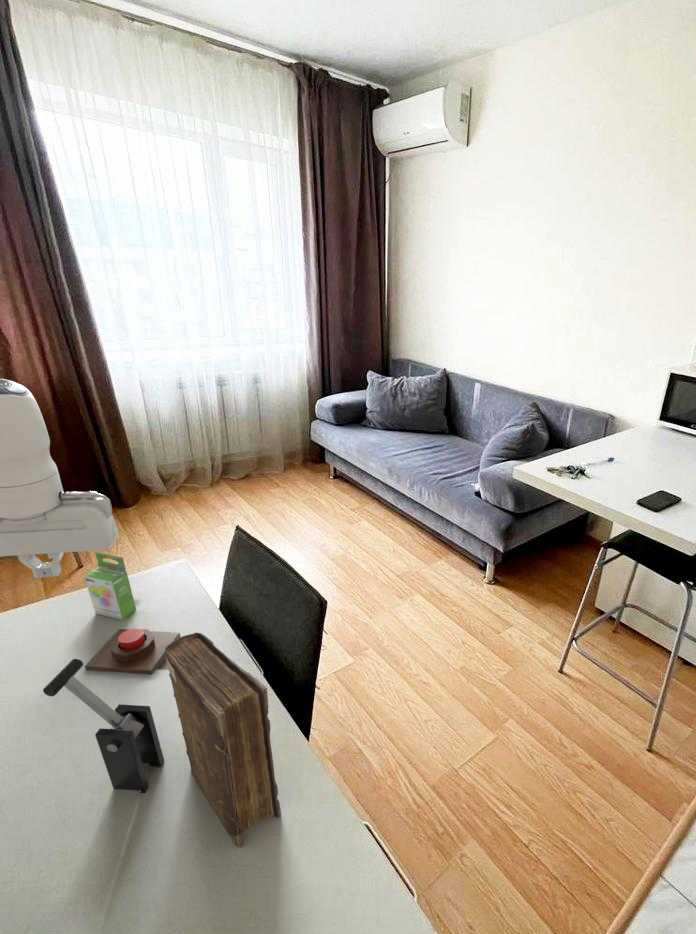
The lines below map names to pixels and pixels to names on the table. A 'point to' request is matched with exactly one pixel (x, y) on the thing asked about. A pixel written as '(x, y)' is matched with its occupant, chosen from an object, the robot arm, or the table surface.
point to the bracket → (130, 750)
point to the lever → (90, 698)
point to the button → (131, 639)
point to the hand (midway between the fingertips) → (48, 575)
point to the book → (224, 732)
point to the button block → (133, 654)
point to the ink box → (110, 588)
